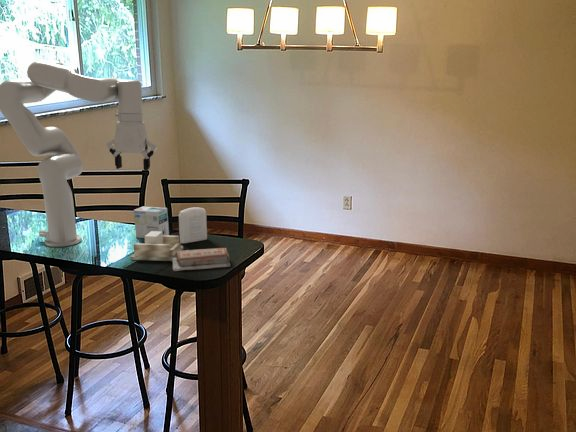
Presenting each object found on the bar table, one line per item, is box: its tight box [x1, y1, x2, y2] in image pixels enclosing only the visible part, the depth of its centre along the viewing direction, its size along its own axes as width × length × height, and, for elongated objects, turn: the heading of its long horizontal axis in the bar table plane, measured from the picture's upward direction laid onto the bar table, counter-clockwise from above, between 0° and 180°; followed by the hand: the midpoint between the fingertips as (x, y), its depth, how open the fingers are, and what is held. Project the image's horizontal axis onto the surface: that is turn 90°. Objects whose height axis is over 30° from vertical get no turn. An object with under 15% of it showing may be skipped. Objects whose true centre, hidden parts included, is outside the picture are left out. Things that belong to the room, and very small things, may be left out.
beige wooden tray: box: [130, 234, 184, 262], centre depth 202 cm, size 14×13×5 cm
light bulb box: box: [133, 205, 170, 239], centre depth 221 cm, size 11×7×11 cm, turn 71°
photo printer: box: [178, 206, 208, 244], centre depth 215 cm, size 10×4×12 cm, turn 123°
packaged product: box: [171, 247, 231, 272], centre depth 192 cm, size 18×5×10 cm
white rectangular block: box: [144, 231, 163, 244], centre depth 202 cm, size 4×6×6 cm, turn 171°
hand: (132, 169), depth 202 cm, fingers open, 9 cm apart
